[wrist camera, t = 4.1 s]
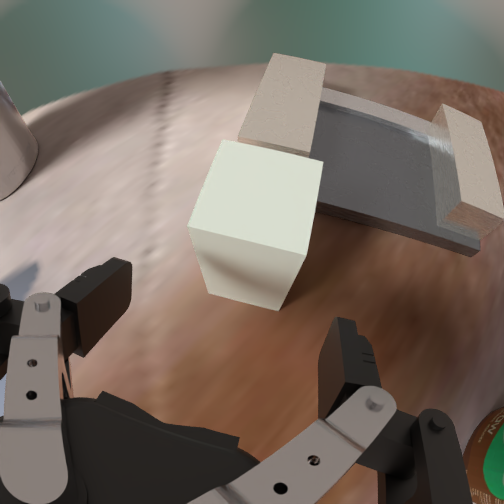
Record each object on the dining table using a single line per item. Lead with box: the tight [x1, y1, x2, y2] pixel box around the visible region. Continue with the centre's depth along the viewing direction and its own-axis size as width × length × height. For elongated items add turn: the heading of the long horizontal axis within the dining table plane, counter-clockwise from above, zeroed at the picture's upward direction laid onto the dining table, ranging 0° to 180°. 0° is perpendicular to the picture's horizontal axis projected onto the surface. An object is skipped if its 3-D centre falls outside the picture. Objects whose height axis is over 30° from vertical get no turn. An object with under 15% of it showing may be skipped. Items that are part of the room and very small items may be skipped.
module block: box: [187, 140, 323, 311], centre depth 18 cm, size 5×5×10 cm
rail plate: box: [238, 53, 504, 257], centre depth 25 cm, size 22×14×6 cm, turn 76°
